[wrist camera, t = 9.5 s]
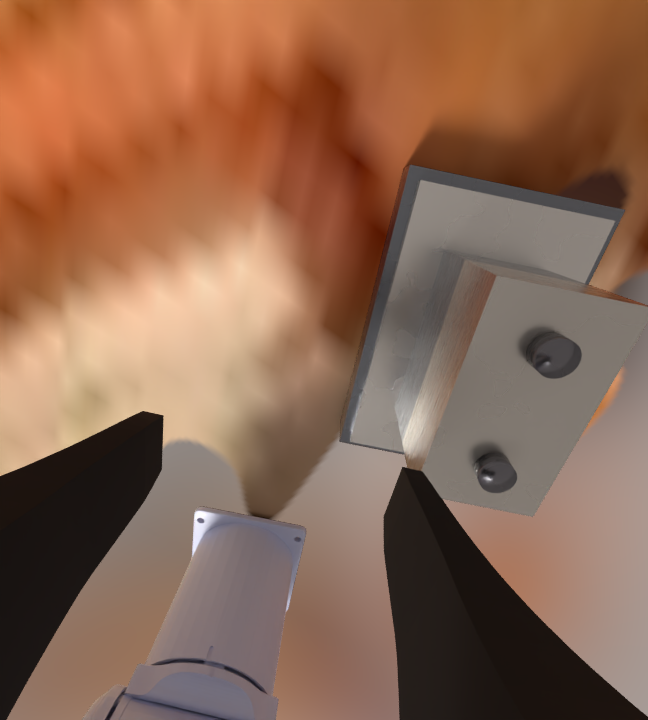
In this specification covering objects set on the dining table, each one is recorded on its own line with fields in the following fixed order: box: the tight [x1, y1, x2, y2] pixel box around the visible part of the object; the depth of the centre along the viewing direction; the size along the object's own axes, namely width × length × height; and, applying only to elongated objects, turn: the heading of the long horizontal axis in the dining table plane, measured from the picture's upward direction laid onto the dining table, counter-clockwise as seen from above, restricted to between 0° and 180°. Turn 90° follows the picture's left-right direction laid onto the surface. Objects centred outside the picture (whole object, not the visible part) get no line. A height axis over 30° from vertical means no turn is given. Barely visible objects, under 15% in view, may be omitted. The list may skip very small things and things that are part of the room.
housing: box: [395, 249, 648, 517], centre depth 14 cm, size 8×4×7 cm, turn 169°
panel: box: [340, 165, 625, 455], centre depth 18 cm, size 14×9×2 cm, turn 169°
